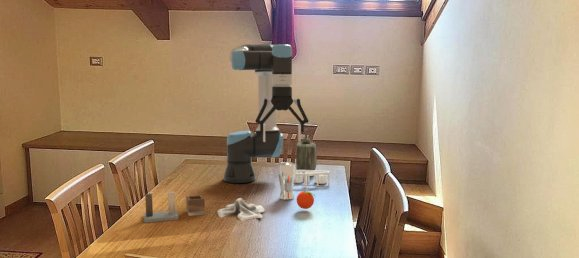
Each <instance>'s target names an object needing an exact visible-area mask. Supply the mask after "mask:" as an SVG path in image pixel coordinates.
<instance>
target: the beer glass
mask: <svg viewBox="0 0 579 258" xmlns="http://www.w3.org/2000/svg"><path fill="white" fill-rule="evenodd" d="M295 165H296V164H295V163H294V162H291V161H288V162H287V161H284V162H279V163H278V181H279V186H280V187H279V189H280V193H279V199H280V200H283V201H288V200H289V201H290V200H293V199H294V198H295V197H294V196H295V195H294V186H295V183H294V179H295V170H296V166H295ZM293 185H294V186H293Z"/></svg>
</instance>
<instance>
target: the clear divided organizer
mask: <svg viewBox="0 0 579 258" xmlns="http://www.w3.org/2000/svg"><path fill="white" fill-rule="evenodd" d="M303 172H304V173H303ZM330 173H331V171H329V170H318V169H317V170H316V169H315V170H296V169H295V179H294V185H293V187H294V186H295V184H296V183H297V184H298V183H303V188H307V186H308V183H310V177H312V176H314V183H315V184H316V185H314V186H313V185H311V186H310V188H314V187H319V186H322V185H323V184H324V185H323V186H327V187H328V186H330V178H331V177H330V175H331V174H330ZM326 183H327V185H326ZM319 184H320V185H319ZM297 187H298V188H299V187H300V188H301V186H297Z"/></svg>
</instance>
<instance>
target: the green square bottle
mask: <svg viewBox="0 0 579 258" xmlns="http://www.w3.org/2000/svg"><path fill="white" fill-rule="evenodd" d="M317 145H318V144H316V143H315V142H313V141H312V140H311V139H310V138H309V137H308V129H307V128H305V130H304V137H303V138H301V142H299V141H298V142H297V144H296V149H295V151H296V153H295V154H296V155H295V160H296V161H295V165H296V166H295V170H316V169H317V160H318V159H317V154H318V153H317V151H318V148H317ZM303 173H305V172H303Z"/></svg>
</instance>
